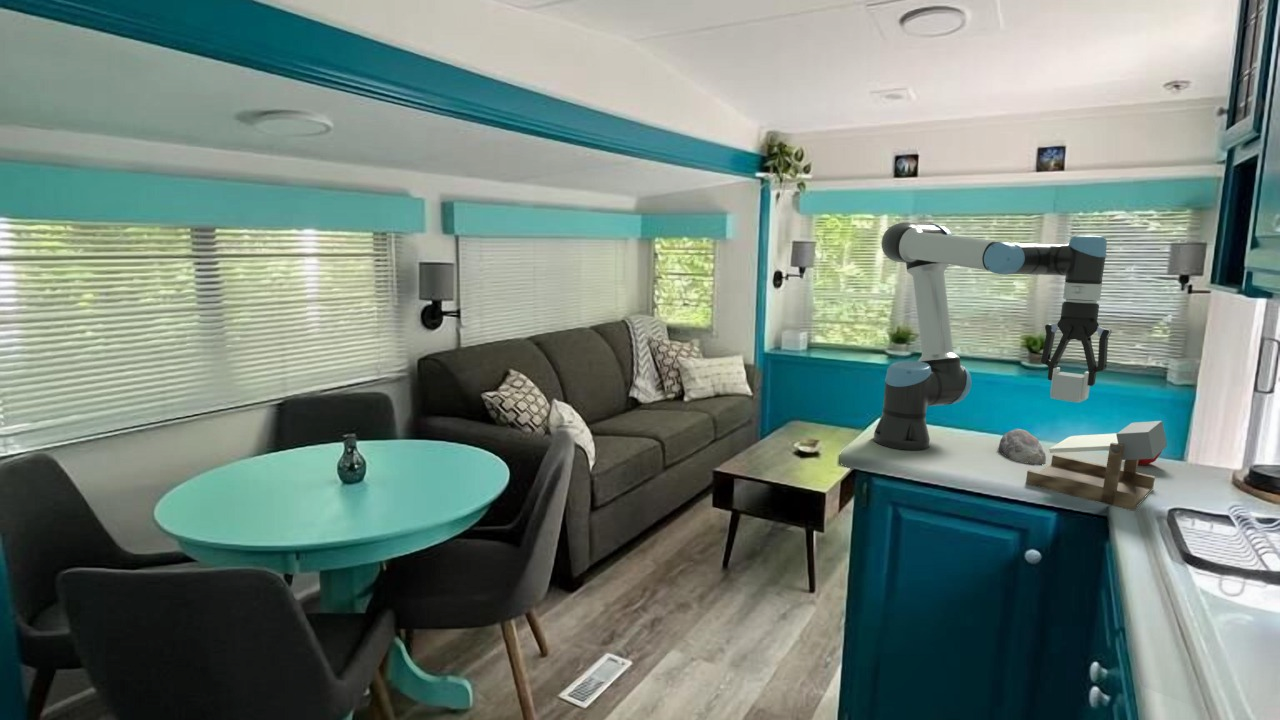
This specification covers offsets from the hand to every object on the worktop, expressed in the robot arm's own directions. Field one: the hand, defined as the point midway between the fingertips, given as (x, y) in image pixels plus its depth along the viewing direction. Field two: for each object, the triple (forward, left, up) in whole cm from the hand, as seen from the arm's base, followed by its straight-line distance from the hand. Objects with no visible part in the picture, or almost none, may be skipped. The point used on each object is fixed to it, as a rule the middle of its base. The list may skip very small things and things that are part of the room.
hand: (1068, 395), depth 169 cm
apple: (+11, +36, -22) cm, 43 cm away
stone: (-13, +17, -22) cm, 30 cm away
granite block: (0, 0, -1) cm, 1 cm away
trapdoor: (+10, +2, -13) cm, 16 cm away
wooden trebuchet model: (+7, +2, -22) cm, 23 cm away
